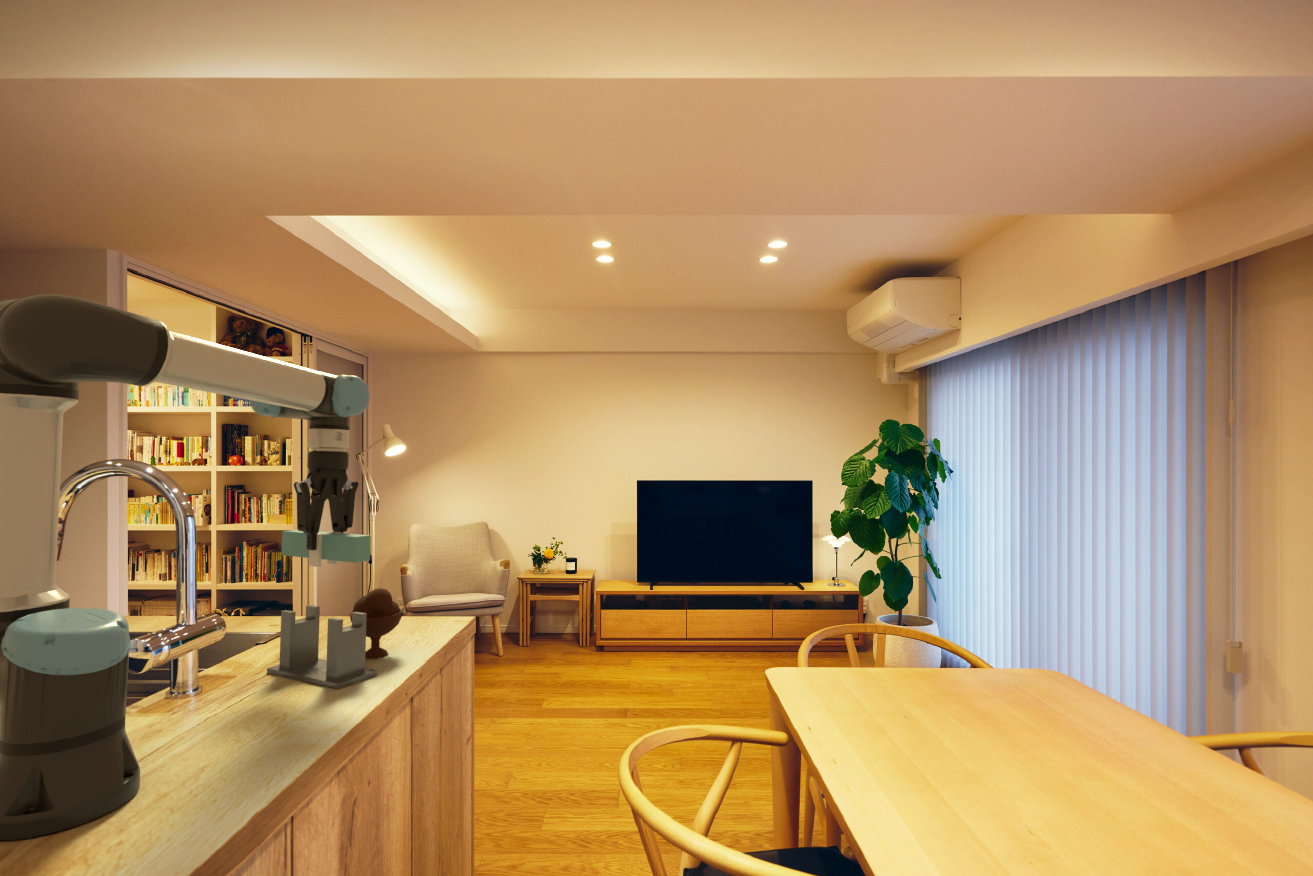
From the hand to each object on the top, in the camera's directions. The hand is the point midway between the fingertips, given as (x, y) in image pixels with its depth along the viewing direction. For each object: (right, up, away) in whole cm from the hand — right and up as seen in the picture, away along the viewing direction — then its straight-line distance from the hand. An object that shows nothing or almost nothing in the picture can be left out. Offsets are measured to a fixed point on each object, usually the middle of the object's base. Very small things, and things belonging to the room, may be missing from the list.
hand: (324, 564), depth 130 cm
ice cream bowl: (+5, -23, +12) cm, 27 cm away
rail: (0, +1, 0) cm, 1 cm away
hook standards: (0, -22, -1) cm, 22 cm away
